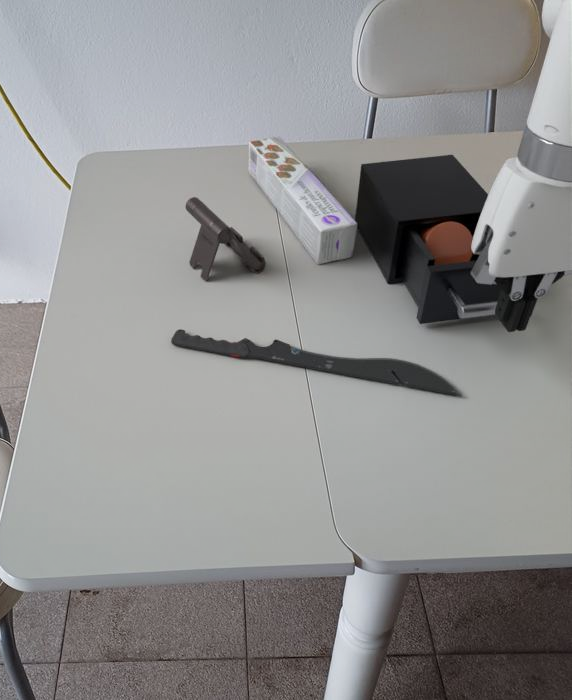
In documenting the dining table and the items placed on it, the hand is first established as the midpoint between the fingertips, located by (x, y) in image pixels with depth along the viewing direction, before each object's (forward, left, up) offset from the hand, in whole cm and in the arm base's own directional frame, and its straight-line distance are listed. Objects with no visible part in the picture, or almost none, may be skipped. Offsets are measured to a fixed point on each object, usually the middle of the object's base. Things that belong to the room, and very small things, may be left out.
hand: (509, 322), depth 65 cm
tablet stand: (+26, -25, -7) cm, 36 cm away
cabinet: (0, -24, -7) cm, 25 cm away
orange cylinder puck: (0, -17, -2) cm, 17 cm away
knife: (+19, -5, -7) cm, 21 cm away
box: (+14, -36, -7) cm, 39 cm away
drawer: (0, -12, -6) cm, 13 cm away
